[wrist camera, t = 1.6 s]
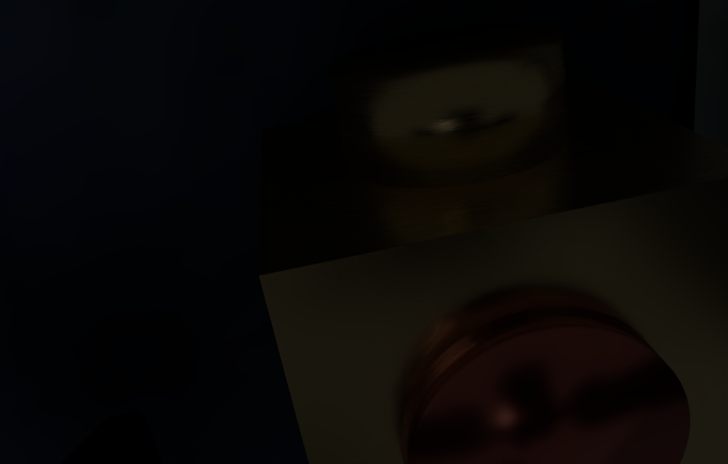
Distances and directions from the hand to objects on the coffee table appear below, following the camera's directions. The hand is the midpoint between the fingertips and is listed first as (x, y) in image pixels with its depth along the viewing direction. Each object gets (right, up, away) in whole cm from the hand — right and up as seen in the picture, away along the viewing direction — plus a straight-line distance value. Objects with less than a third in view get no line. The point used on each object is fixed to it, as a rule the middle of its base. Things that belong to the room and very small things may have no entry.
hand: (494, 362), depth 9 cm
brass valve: (0, +2, +3) cm, 4 cm away
